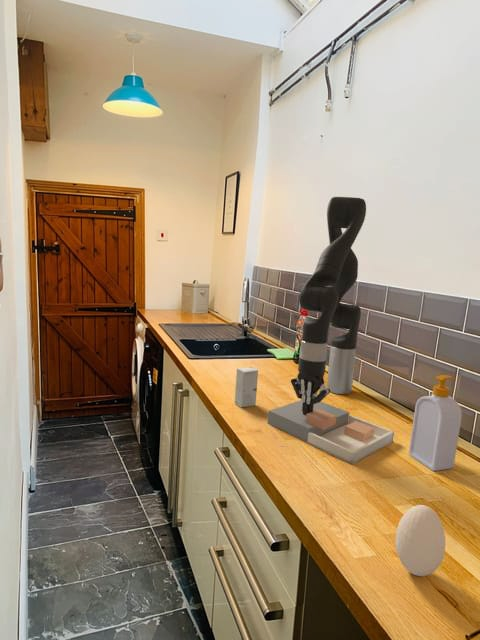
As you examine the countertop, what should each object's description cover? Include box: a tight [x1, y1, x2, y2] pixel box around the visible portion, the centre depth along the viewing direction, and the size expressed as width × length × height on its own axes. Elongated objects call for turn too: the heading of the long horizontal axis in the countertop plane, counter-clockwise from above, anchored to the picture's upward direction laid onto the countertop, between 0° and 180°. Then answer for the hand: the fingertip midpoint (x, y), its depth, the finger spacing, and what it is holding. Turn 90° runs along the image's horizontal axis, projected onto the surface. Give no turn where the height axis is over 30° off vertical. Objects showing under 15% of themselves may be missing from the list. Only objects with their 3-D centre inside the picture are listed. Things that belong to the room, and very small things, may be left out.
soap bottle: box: [408, 374, 463, 472], centre depth 104 cm, size 9×7×23 cm
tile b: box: [306, 409, 336, 430], centre depth 115 cm, size 6×6×2 cm
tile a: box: [344, 421, 375, 442], centre depth 117 cm, size 6×6×2 cm
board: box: [267, 400, 350, 443], centre depth 124 cm, size 20×15×4 cm
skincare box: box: [234, 366, 259, 408], centre depth 136 cm, size 6×4×12 cm
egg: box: [394, 504, 446, 577], centre depth 67 cm, size 7×7×12 cm
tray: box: [307, 414, 395, 466], centre depth 114 cm, size 21×14×3 cm, turn 133°
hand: (306, 414), depth 119 cm, fingers closed
